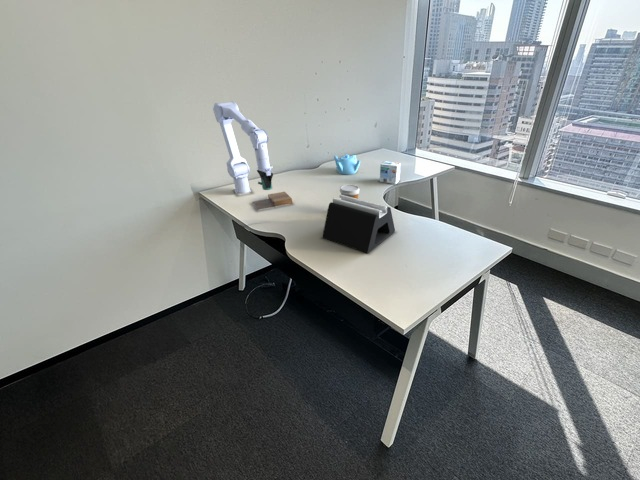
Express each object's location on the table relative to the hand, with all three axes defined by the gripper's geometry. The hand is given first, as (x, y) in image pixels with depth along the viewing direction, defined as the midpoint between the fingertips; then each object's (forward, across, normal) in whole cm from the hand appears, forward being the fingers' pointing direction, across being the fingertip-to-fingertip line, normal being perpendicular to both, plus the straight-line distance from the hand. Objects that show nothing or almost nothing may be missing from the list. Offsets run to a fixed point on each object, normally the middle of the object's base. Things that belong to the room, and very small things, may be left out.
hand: (267, 186), depth 161 cm
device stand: (+10, -51, -24) cm, 58 cm away
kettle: (+1, 0, 0) cm, 1 cm away
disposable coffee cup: (+10, -27, -32) cm, 43 cm away
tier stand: (+9, 0, -1) cm, 9 cm away
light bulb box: (+10, +1, -73) cm, 74 cm away
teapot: (+10, +29, -59) cm, 66 cm away
